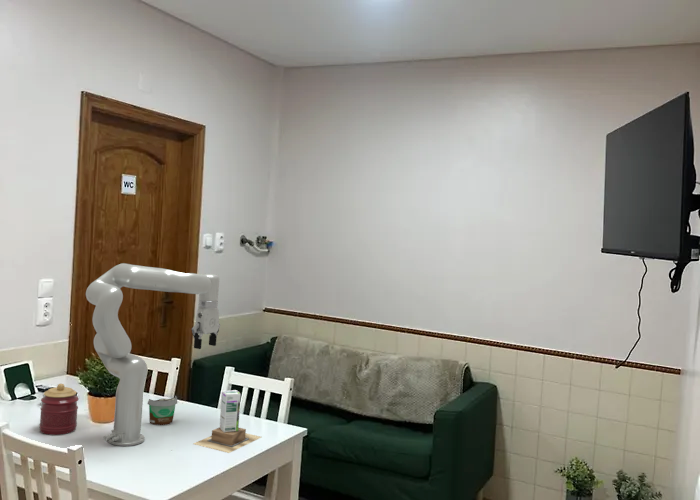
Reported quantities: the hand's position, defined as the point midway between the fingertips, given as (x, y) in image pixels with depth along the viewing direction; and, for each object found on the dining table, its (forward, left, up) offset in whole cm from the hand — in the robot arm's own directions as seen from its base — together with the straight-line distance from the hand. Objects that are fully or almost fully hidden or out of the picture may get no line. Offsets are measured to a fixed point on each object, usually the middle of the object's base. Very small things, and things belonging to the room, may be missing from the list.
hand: (205, 346), depth 259 cm
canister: (-36, +38, -32) cm, 62 cm away
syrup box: (-10, -21, -27) cm, 36 cm away
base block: (-10, -21, -31) cm, 39 cm away
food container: (-6, +13, -32) cm, 36 cm away
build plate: (-10, -21, -32) cm, 40 cm away
